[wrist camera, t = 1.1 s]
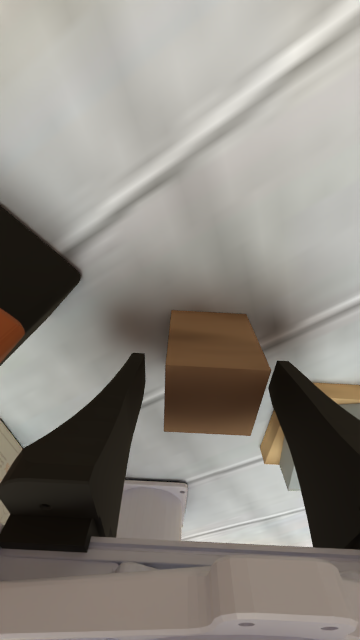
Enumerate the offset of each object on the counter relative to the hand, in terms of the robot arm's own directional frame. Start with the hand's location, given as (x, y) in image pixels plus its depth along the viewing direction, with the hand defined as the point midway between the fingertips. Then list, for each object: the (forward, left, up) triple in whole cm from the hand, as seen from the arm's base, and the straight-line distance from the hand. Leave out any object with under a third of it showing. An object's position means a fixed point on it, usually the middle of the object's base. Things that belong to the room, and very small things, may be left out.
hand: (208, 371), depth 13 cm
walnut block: (0, 0, -3) cm, 3 cm away
